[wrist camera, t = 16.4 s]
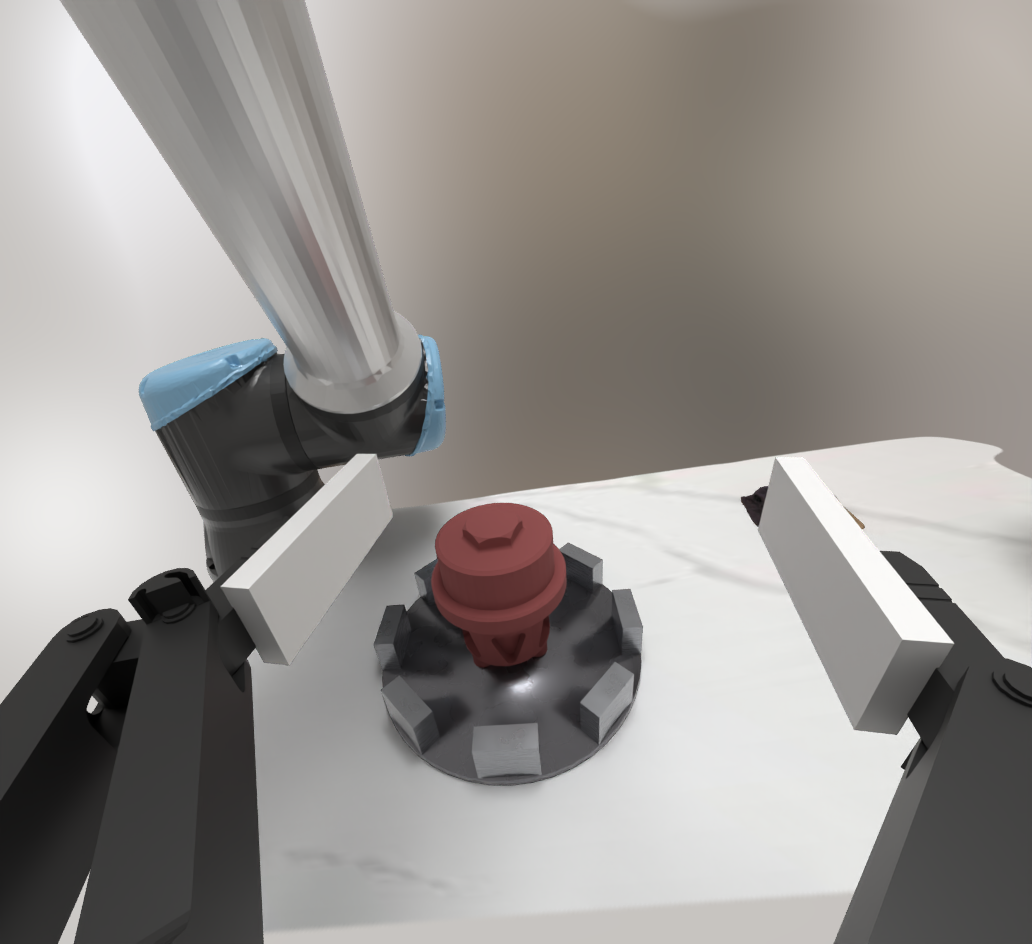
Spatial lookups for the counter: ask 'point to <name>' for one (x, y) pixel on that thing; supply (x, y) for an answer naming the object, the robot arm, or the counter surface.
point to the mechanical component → (499, 581)
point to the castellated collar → (514, 683)
